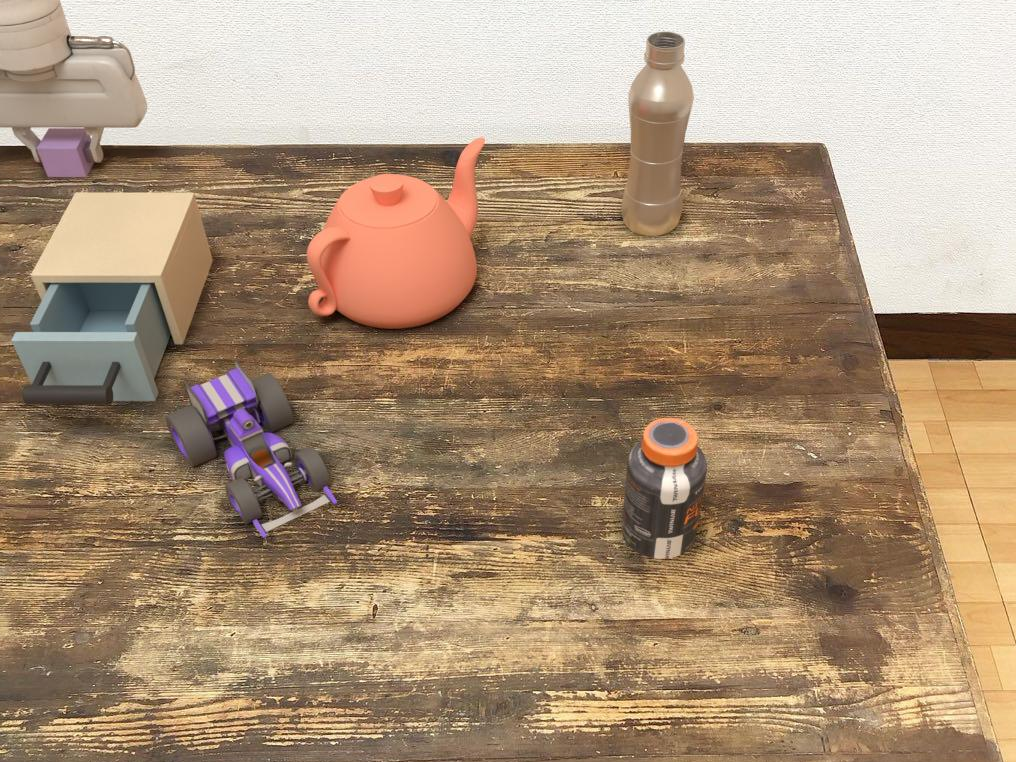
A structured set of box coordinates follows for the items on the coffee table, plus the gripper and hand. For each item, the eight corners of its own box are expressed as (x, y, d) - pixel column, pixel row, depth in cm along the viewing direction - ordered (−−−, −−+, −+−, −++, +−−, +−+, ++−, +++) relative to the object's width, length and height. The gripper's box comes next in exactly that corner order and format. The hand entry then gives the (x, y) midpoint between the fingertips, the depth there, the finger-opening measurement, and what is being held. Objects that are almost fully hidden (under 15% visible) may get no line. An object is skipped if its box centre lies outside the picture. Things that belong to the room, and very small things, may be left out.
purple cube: (50, 184, 121) (36, 148, 118) (62, 164, 124) (48, 128, 120) (89, 184, 121) (76, 148, 117) (99, 164, 124) (87, 128, 120)
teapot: (443, 217, 116) (434, 106, 107) (540, 279, 109) (540, 166, 99) (272, 300, 106) (245, 187, 97) (365, 375, 99) (347, 260, 89)
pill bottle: (692, 570, 83) (709, 467, 75) (617, 561, 84) (625, 458, 75) (697, 514, 87) (714, 411, 79) (625, 506, 88) (633, 402, 79)
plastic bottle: (687, 217, 116) (708, 29, 101) (671, 251, 112) (691, 60, 97) (629, 206, 117) (642, 20, 102) (612, 240, 113) (622, 50, 98)
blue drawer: (142, 438, 92) (118, 377, 87) (21, 438, 92) (-9, 377, 87) (187, 315, 103) (168, 254, 98) (80, 314, 104) (55, 254, 98)
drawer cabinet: (185, 352, 101) (160, 275, 95) (63, 351, 101) (30, 275, 95) (215, 267, 110) (194, 192, 104) (102, 267, 110) (75, 192, 104)
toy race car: (248, 554, 85) (230, 497, 80) (174, 446, 93) (153, 389, 88) (355, 502, 88) (343, 445, 83) (274, 404, 96) (259, 346, 91)
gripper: (133, 23, 113) (168, 145, 123) (-61, 22, 113) (-9, 145, 123) (117, 50, 108) (154, 175, 119) (-84, 50, 109) (-29, 174, 119)
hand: (70, 160), depth 121 cm, fingers closed on purple cube, 4 cm apart
